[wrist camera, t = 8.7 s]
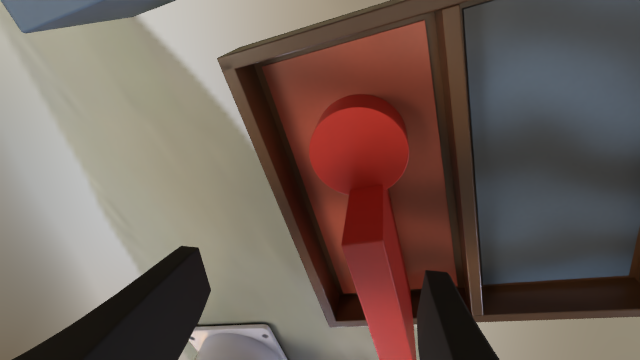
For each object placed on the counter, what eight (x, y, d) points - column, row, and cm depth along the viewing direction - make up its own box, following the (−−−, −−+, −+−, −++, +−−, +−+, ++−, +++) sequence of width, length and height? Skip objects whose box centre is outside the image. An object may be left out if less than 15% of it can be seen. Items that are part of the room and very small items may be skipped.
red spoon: (433, 287, 20) (448, 380, 16) (363, 291, 22) (358, 379, 17) (398, 83, 14) (405, 134, 10) (304, 105, 16) (270, 161, 11)
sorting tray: (640, 277, 18) (673, 315, 16) (334, 296, 23) (329, 327, 21) (733, -107, 10) (822, -128, 8) (239, 47, 15) (216, 58, 13)
